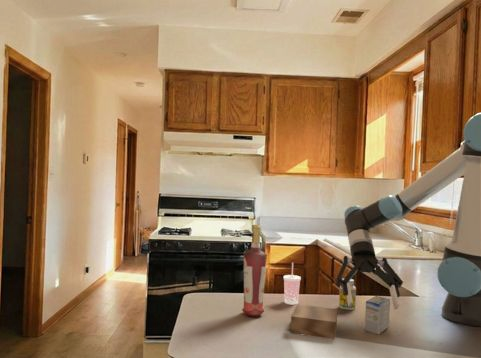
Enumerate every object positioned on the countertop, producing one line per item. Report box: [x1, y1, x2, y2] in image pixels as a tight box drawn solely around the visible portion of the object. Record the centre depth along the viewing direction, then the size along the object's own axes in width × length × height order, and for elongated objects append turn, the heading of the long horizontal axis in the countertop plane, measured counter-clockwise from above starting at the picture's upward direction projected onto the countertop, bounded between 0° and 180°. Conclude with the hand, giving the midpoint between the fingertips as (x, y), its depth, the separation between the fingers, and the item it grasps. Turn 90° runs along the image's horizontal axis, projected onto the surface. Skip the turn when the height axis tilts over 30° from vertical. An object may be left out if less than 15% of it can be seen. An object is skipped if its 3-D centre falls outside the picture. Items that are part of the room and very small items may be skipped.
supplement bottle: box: [338, 278, 357, 311], centre depth 139 cm, size 5×5×10 cm
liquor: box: [241, 224, 268, 318], centre depth 127 cm, size 7×7×28 cm
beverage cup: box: [283, 262, 302, 306], centre depth 142 cm, size 6×6×14 cm
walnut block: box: [290, 303, 338, 340], centre depth 117 cm, size 12×12×5 cm
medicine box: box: [364, 295, 391, 335], centre depth 119 cm, size 8×4×9 cm, turn 141°
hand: (373, 306), depth 120 cm, fingers open, 13 cm apart
